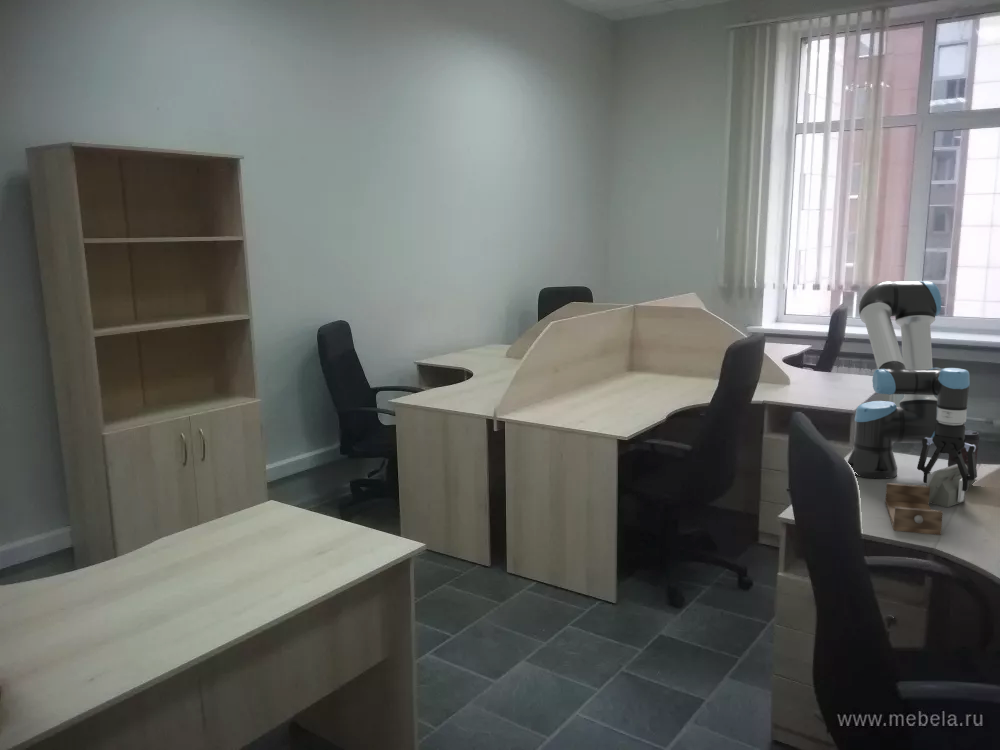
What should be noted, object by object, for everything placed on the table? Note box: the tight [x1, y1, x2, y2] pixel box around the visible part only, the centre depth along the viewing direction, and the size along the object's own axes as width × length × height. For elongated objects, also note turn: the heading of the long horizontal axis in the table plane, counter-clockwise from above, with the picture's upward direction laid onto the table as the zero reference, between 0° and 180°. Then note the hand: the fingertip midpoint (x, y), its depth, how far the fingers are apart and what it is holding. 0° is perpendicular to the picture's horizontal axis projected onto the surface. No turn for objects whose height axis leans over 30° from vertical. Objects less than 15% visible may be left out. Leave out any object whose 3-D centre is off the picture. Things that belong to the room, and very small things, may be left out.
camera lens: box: [947, 429, 980, 473], centre depth 245 cm, size 8×8×15 cm
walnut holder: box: [884, 482, 944, 536], centre depth 212 cm, size 11×24×6 cm, turn 159°
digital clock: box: [925, 464, 968, 508], centre depth 224 cm, size 16×9×11 cm, turn 110°
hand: (944, 497), depth 225 cm, fingers closed on digital clock, 8 cm apart
